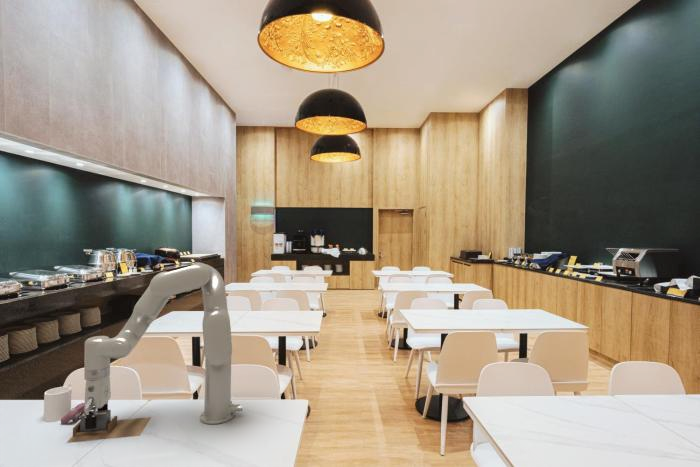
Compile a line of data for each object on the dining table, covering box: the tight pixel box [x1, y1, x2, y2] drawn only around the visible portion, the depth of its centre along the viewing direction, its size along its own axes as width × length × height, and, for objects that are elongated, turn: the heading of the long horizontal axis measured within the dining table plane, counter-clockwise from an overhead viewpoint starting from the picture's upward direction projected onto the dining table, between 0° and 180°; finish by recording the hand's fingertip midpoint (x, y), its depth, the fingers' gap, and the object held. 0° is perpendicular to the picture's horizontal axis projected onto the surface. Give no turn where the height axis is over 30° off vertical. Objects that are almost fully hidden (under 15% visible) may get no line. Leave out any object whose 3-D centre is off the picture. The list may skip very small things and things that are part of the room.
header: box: [65, 415, 152, 444], centre depth 134 cm, size 22×14×4 cm, turn 103°
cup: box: [43, 383, 73, 423], centre depth 147 cm, size 8×12×10 cm
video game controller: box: [60, 402, 94, 425], centre depth 143 cm, size 10×5×7 cm, turn 170°
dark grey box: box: [79, 409, 112, 432], centre depth 133 cm, size 8×4×6 cm, turn 103°
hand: (96, 421), depth 133 cm, fingers open, 9 cm apart
